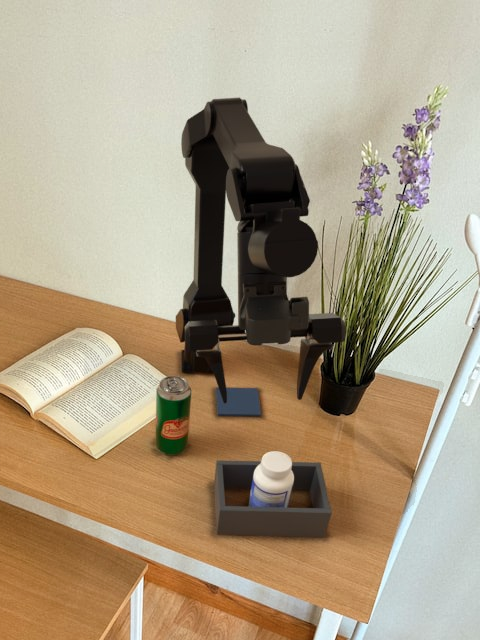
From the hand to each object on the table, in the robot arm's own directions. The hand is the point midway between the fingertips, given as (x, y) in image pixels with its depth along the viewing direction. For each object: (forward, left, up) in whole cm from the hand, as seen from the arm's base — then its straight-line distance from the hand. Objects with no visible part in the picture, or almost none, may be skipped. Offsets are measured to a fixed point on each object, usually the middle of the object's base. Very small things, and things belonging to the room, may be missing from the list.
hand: (262, 400), depth 87 cm
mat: (-22, 0, -18) cm, 28 cm away
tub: (+2, +3, -18) cm, 18 cm away
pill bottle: (+2, +3, -18) cm, 18 cm away
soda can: (-11, -11, -18) cm, 24 cm away
